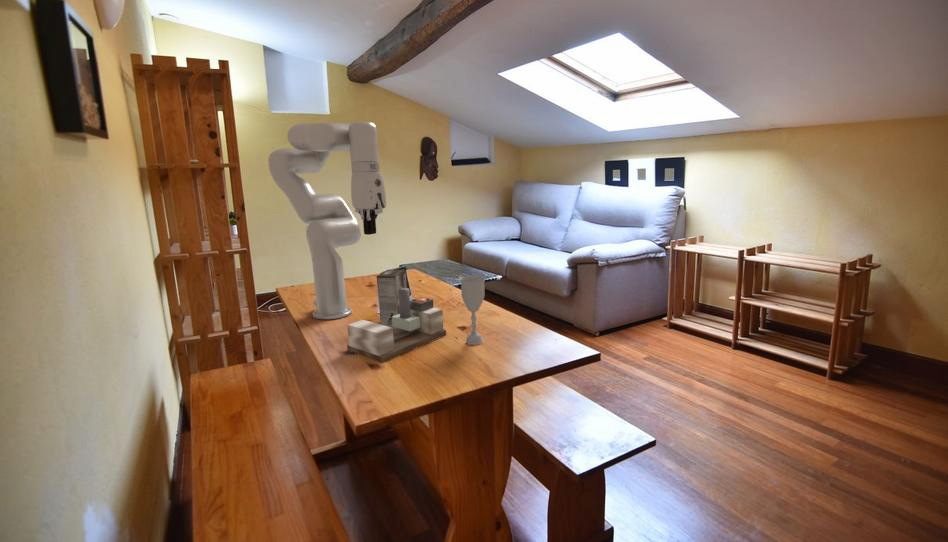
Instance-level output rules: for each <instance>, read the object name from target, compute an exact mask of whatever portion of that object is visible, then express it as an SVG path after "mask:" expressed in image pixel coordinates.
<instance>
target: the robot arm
mask: <svg viewBox="0 0 948 542" xmlns="http://www.w3.org/2000/svg"><path fill="white" fill-rule="evenodd" d="M287 131H288V132H287V140H288V143H289V144H290V145H291V146H292V147H288V148H286V147H285V148H277V149H276V150H274V151H272V152H271V153H270V154H269V155H268V158H267V159H268V161H267V162H268V168H269V172H270V175H271V178H272V180H273V181H274V183H275V184H276V185H277V187H278V188H279V189H280V190H281V191H282V192H283V193H284V194H285V196H286V197H287V199H288V200H289V202H290V204H291V206H292V207H293V209H294V211H295V212H296V214H297V216H298V218H299V219H300V220H301V221H302V222H303V223H305V224H307V225H308V226H306V229H305V236H306V241H307V244H308V247H309V251H310V256H311V262H312V264H311V265H312V270H313V271H312V272H313V281H314V282H313V283H314V292H315V300H313V302H312V305H313V306H315V310H313V312H312V317H313V318H314V319H316V320H317V319H318V320H335V319H336V320H337V319H340V318H344V317H347V316H349V315H351V314H352V312H353V309H352V307H350V306H349V305H347V293H346V284H345V272H344V262H343V259H342V257H341V255H340V254H339V253H338V252H337V250H336V248H342V247H348V246H352V245H355V244H358V242H359V241H360V239H361V237H362V231H361V227H360V224H359V222H358V220H357V219H356V217H355V216H354V214H353V212H352V211H351V209H350V207H349V206H348V205H347V203H346V202H345V200H344V199H343V198H342V197H341V196H340V195H338V194H335V193H325V194H324V193H323V194H320V193H316V192H315V190H314V188H313V187H312V185H311V184H310V183H309V182H308V181H307V180H306V179H304V178H303V177H301V176H300V175H301V174H317V173H319V172H321V171H322V170H323V168H324V167H325V164H327V161H328V159H329V156H330V155H331V153H332V152H335V151H336V152H337V151H339V152H345V151H346V152H349V153H350V164H351V181H350V190H351V191H350V192H351V193H350V196H351V204H352V207H353V208H354V211H355V213H357V214H358V215H360V219H361V221H362V223H363V234H364V235H374V234H376V233H377V224H376V221H377V219H378V216H379V215H381V214H383V213H384V211H383V210H384V209H385V208H386V207H387V197H386V189H385V184H384V179H383V175H382V173H381V172H380V162H379V146H378V145H379V144H378V134H377V133H378V132H377V131H378V130H377V126H376V123H373V122H369V121H356V122H355V121H354V122H351V123H345V122H343V123H341V122H301V123H296V124H294V125H292V126H291V127H290V128H289V130H287ZM299 174H300V175H299Z"/></svg>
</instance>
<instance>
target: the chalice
mask: <svg viewBox="0 0 948 542" xmlns="http://www.w3.org/2000/svg"><path fill="white" fill-rule="evenodd" d="M486 279H487V278H486V276H482V275H477V274H476V275H472V274H471V275H464V276H459V278H458V280H459V281H460V283H461V284H460V288H461V291H460V292H461V298H462V300H463V304H464V305H465V307H466V309H467V310H468V312H471V318H470V319H471V324H470V326H471V328H472V330H471V332H469V333H468V334H467V337H466V340H465V341H466V343H468V344H467V345H469V344H473V345H472V346H478V344H479V345H482V344H484V340H483V337H482V335H481V333H479V332H477V330H476V329H477V326H478V323H476V321H477V317H476V312H478V311H479V310H480V308H481V306H482V304H483V301H484V298H485V295H486V294H485V281H486Z"/></svg>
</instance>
